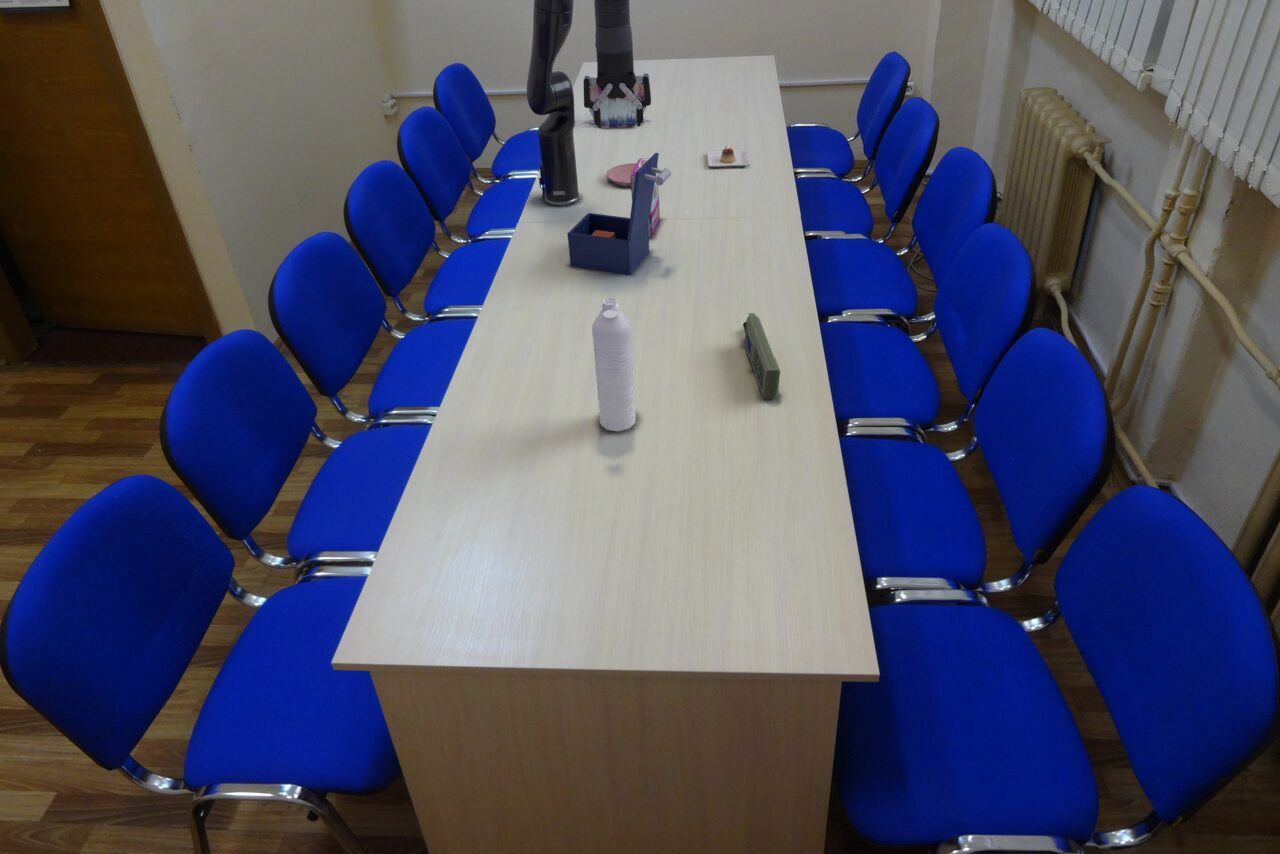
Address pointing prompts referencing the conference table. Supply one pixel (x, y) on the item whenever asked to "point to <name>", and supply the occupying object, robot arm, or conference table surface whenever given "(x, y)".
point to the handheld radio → (761, 357)
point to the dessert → (728, 158)
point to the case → (607, 244)
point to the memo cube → (603, 234)
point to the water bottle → (614, 367)
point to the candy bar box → (655, 200)
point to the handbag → (617, 108)
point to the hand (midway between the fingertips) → (619, 126)
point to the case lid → (645, 193)
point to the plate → (621, 174)
